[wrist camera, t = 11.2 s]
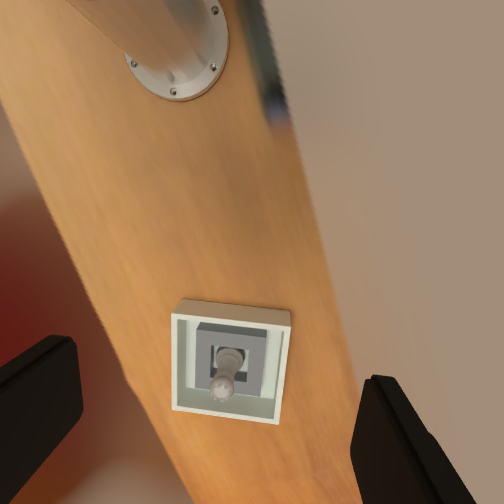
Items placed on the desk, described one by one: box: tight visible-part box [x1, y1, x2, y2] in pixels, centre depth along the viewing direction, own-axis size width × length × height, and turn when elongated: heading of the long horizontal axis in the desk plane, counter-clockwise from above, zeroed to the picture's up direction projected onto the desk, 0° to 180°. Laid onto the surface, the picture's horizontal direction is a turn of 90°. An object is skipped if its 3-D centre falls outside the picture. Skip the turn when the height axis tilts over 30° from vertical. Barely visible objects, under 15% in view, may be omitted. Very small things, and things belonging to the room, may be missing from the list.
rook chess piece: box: [209, 346, 245, 402], centre depth 36 cm, size 4×4×8 cm
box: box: [171, 299, 291, 425], centre depth 38 cm, size 16×16×4 cm
